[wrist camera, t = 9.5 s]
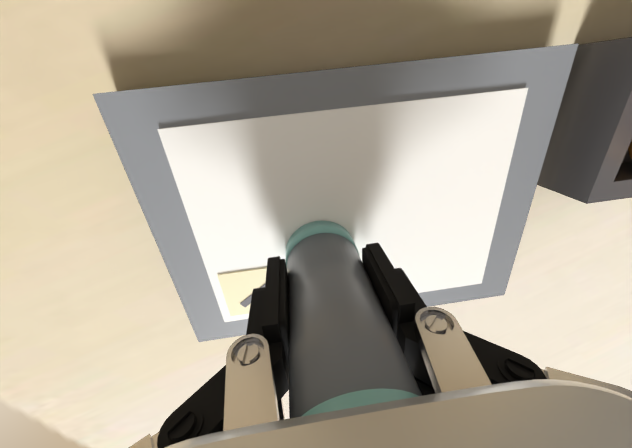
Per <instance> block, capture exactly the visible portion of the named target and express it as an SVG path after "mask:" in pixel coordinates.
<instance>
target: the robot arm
mask: <svg viewBox="0 0 632 448" xmlns="http://www.w3.org/2000/svg"><path fill="white" fill-rule="evenodd" d="M362 263H363V265H364V267H365V270H366V272H367V274H368V276H369V279H370V281H371V283H372V285H373V287H374V290H375V292H376V294H377V296H378V298H379V301H380V303H381V305H382V307H383V310H384V312H385V314H386V316H387V318H388V321H389V323H390V325H391V327H392V330H393V332H394V334H395V336H396V338H397V341H398V343H399V345H400V347H401V349H402V352H403V354H404V356H405V358H406V361H407V363H408V365H409V367H410V369H411V372H412V374H413V376H414V378H415V380H416V383H417V385H418V387H419V389H420V392H421V394H422V396H418V397H412V398H406V399H400V400H394V401H388V402H383V403H377V404H371V405H365V406H359V407H353V408H347V409H342V410H336V411H330V412H324V413H319V414H313V415H307V416H302V417H296V418H290V419H285V414H284V408H283V401H282V397H283V396H284V394H285V393H286V392H287V391H288V390H289V358H288V347H289V316H288V273H287V268H286V262H285V259H281V258H280V256H277V257H270V258H268V260H267V271H266V282H265V287H262V288H255V289H253V292H252V298H251V304H250V311H249V318H248V324H247V331H246V335H245V336H242V337H240V338H239V339H237V340H236V341H235V342H234V343H233V344H232V345H231V346H230V348H229V350H228V352H227V356H226V365H225V366H224V367H223V368H222V369H221V370H220V371H219V372H218V373H216V374H215V375H214V376H213V377H212V378H211V379H210V380H209V381H208V382H206V383H205V384H204V385H203V386H202V387H201V388H200V389H199V390H197V391H196V392H195V393H194V394H193V395H192V396H191V397H190V398H189V399H187V400H186V401H185V402H184V403H183V404H182V405H181V406H180V407H178V408H177V409H176V410H175V411H174V412H173V413H172V414H171V415H170V416H169V417H168V418H167V419H166V421H165V422H164V424H163V425H162V427H161V429H160V431H159V432H158V433H156V434H155V435H153V436H152V437H151V435H150V434H149V435H147V436H146V437H144V438H143V439H141V440H140V441H138V442H137V443H135V444H134V445H132V446H131V447H129V448H632V391H630V390H628V389H625V388H622V387H620V386H616V385H612V384H609V383H605V382H601V381H597V380H594V379H590V378H586V377H583V376H579V375H575V374H571V373H568V372H564V371H560V370H556V369H553V368H549V367H546V368H545V370H543V369H540V368H539V367H538V366H537V365H536V364H535V363H533V362H532V361H531V360H530V359H528V358H526V357H524V356H522V355H520V354H517V353H515V352H513V351H510V350H508V349H505V348H503V347H501V346H498V345H496V344H493V343H491V342H489V341H486V340H484V339H481V338H479V337H477V336H474V335H472V334H469V333H467V332H465V331H463V330H462V328H461V327H460V325H459V323H458V321H457V320H456V318H455V317H454V316H453V315H452V314H451V313H449V312H448V311H446V310H444V309H441V308H437V307H427V306H426V304H425V303H424V301H423V300H422V298H421V297H420V295H419V294H418V292H417V291H416V289H415V288H414V286H413V285H412V283H411V282H410V280H409V278H408V277H407V275H406V274H405V272H404V271H403V270H402V268H394V267H393V265H392V264H391V262H390V260H389V259H388V257H387V255H386V254H385V252H384V251H383V249H382V247H381V246H380V244H379V243H371V244H366V247H365V248H362Z"/></svg>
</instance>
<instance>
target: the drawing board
mask: <svg viewBox="0 0 632 448" xmlns="http://www.w3.org/2000/svg"><path fill="white" fill-rule="evenodd" d="M577 47H578V44H569V45H560V46H550V47H541V48H531V49H521V50H512V51H502V52H492V53H483V54H473V55H463V56H454V57H444V58H435V59H425V60H415V61H406V62H396V63H386V64H377V65H367V66H357V67H348V68H338V69H329V70H319V71H309V72H300V73H290V74H280V75H271V76H261V77H251V78H242V79H232V80H223V81H213V82H203V83H194V84H184V85H174V86H165V87H155V88H145V89H136V90H126V91H116V92H107V93H97V94H93V96H94V99H95V101H96V103H97V106H98V108H99V110H100V113H101V115H102V117H103V120H104V122H105V124H106V127H107V129H108V131H109V134H110V136H111V138H112V141H113V143H114V145H115V148H116V150H117V152H118V155H119V157H120V159H121V162H122V164H123V166H124V169H125V171H126V173H127V176H128V178H129V180H130V183H131V185H132V187H133V190H134V192H135V194H136V197H137V199H138V201H139V204H140V206H141V208H142V211H143V213H144V215H145V218H146V220H147V222H148V225H149V227H150V229H151V232H152V234H153V236H154V239H155V241H156V243H157V246H158V248H159V250H160V253H161V255H162V257H163V260H164V262H165V264H166V267H167V269H168V271H169V274H170V276H171V278H172V281H173V283H174V285H175V288H176V290H177V292H178V295H179V297H180V299H181V302H182V304H183V306H184V309H185V311H186V313H187V316H188V318H189V320H190V323H191V325H192V327H193V330H194V332H195V334H196V337H197V339H198V341H199V342H202V341H209V340H215V339H221V338H228V337H234V336H241V335H246V331H247V324H248V318H249V311H250V304H251V298H252V292H253V289H255V288H262V287H265V282H266V271H267V260H268V258H270V257H277V256H280V258H281V259H285V262H286V245H287V243H288V240H289V238H290V237H291V235H292V234H293V233H294V232H295V231H296V230H297V229H299V228H300V227H301V226H303V225H305V224H307V223H310V222H314V221H331V222H334V223H337V224H339V225H341V226H343V227H344V228H345V229H346V230H347V231H348V232H349V233H350V235H351V236H352V239H353V241H354V243H355V245H356V247H357V249H358V252H359V255H360V259H361V261H362V248H365V247H366V244H371V243H379V244H380V246H381V247H382V249H383V251H384V252H385V254H386V255H387V257H388V259H389V260H390V262H391V264H392V265H393V267H394V268H402V270H403V271H404V272H405V274H406V275H407V277H408V278H409V280H410V282H411V283H412V285H413V286H414V288H415V289H416V291H417V292H418V294H419V295H420V297H421V298H422V300H423V301H424V303H425V304H426V306H427V307H429V306H435V305H442V304H448V303H455V302H461V301H468V300H474V299H480V298H487V297H493V296H500V295H504V294H505V291H506V287H507V284H508V281H509V277H510V274H511V270H512V267H513V264H514V260H515V257H516V254H517V250H518V247H519V243H520V240H521V237H522V233H523V230H524V226H525V223H526V220H527V216H528V213H529V210H530V206H531V203H532V199H533V196H534V193H535V189H536V186H537V182H538V179H539V176H540V172H541V169H542V166H543V162H544V159H545V155H546V152H547V149H548V145H549V142H550V138H551V135H552V132H553V128H554V125H555V122H556V118H557V115H558V111H559V108H560V105H561V101H562V98H563V95H564V91H565V88H566V84H567V81H568V78H569V74H570V71H571V67H572V64H573V61H574V57H575V54H576V51H577Z"/></svg>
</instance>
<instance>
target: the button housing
mask: <svg viewBox="0 0 632 448" xmlns="http://www.w3.org/2000/svg"><path fill="white" fill-rule="evenodd" d="M631 140H632V37H630V38H623V39H616V40H609V41H602V42H595V43H588V44H581V45H578V47H577V51H576V54H575V57H574V61H573V64H572V67H571V71H570V74H569V78H568V81H567V84H566V88H565V91H564V95H563V98H562V101H561V105H560V108H559V111H558V115H557V118H556V122H555V125H554V128H553V132H552V135H551V138H550V142H549V145H548V149H547V152H546V155H545V159H544V162H543V166H542V169H541V172H540V176H539V179H538V182H537V185H539V186H542V187H545V188H547V189H550V190H552V191H555V192H558V193H560V194H563V195H565V196H568V197H571V198H573V199H576V200H579V201H581V202H584V203H586V204H587V203H595V202H602V201H609V200H616V199H624V198H631V197H632V159H631V157H630V155H629V151H628V147H629V145H630V143H631Z"/></svg>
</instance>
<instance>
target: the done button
mask: <svg viewBox="0 0 632 448" xmlns="http://www.w3.org/2000/svg"><path fill="white" fill-rule="evenodd" d="M628 151H629V155H630V157H631V159H632V140H631V143H630V145H629V147H628Z"/></svg>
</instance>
